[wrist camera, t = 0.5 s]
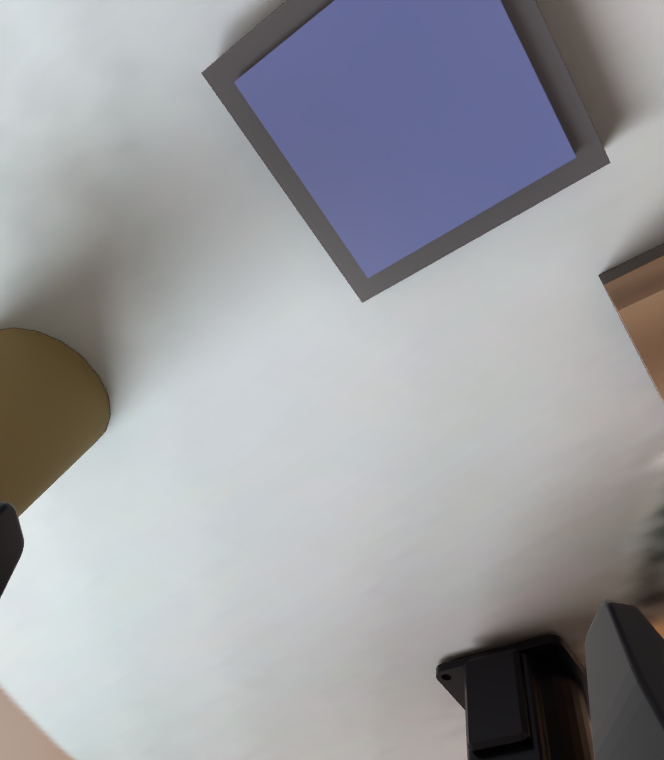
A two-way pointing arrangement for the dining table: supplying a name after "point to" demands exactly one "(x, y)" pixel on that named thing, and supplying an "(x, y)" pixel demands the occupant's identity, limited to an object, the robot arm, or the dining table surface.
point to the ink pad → (407, 123)
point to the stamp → (642, 307)
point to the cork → (44, 413)
